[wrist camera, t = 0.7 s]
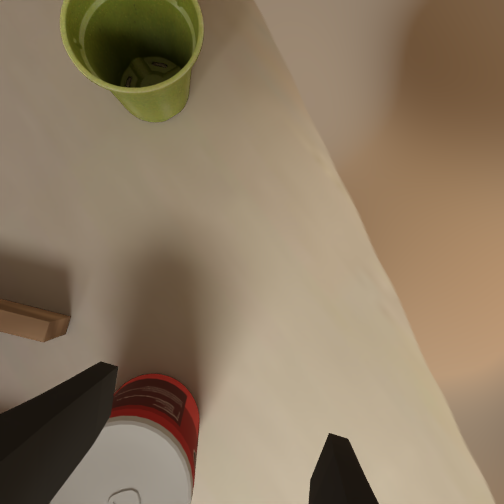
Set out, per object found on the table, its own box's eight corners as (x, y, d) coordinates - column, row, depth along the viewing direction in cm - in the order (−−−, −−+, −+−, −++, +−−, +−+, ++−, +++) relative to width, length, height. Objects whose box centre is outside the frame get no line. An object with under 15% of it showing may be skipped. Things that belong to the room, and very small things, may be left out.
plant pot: (91, 131, 32) (46, 78, 24) (109, 30, 33) (72, -57, 24) (198, 149, 33) (193, 103, 25) (213, 50, 34) (212, -28, 25)
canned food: (136, 486, 31) (93, 601, 20) (89, 402, 31) (20, 470, 20) (217, 435, 32) (219, 518, 21) (171, 353, 32) (148, 393, 21)
